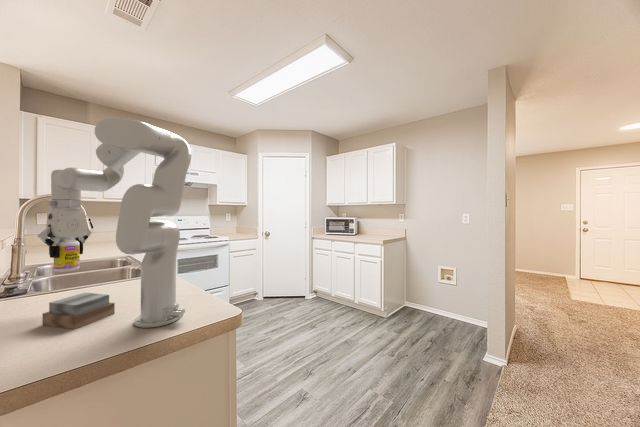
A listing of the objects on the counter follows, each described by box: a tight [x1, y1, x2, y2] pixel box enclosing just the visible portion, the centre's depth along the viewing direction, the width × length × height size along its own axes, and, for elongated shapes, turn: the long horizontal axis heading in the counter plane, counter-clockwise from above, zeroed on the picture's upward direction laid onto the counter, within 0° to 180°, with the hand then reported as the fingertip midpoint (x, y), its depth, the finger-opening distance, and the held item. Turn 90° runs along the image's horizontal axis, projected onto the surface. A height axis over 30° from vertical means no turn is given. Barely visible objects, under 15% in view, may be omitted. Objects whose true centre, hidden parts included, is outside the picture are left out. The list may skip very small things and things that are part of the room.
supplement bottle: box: [53, 237, 81, 273], centre depth 93 cm, size 7×7×13 cm
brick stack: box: [42, 292, 116, 330], centre depth 83 cm, size 12×12×6 cm
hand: (67, 255), depth 93 cm, fingers closed on supplement bottle, 6 cm apart
